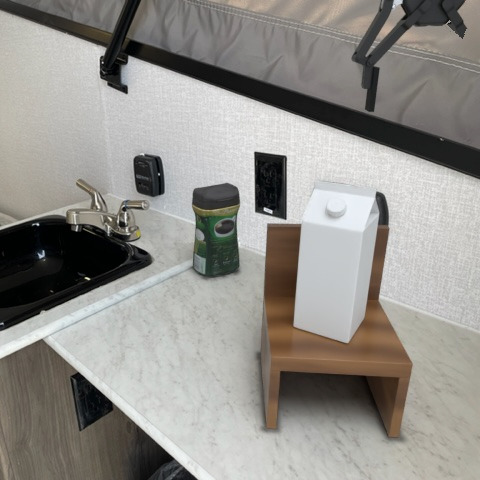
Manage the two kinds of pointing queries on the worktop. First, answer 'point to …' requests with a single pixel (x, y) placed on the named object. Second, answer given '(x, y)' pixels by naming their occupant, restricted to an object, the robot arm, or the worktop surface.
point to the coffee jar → (216, 229)
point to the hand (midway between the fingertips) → (415, 110)
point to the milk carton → (335, 259)
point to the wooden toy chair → (323, 348)
